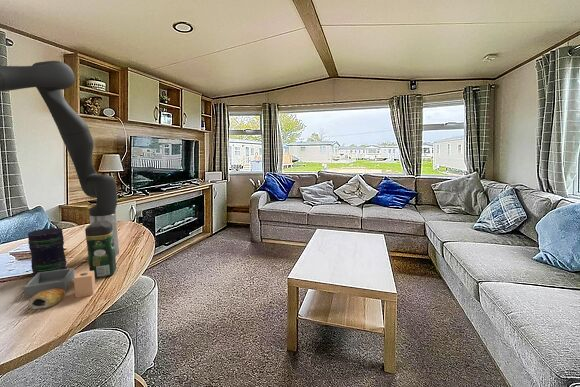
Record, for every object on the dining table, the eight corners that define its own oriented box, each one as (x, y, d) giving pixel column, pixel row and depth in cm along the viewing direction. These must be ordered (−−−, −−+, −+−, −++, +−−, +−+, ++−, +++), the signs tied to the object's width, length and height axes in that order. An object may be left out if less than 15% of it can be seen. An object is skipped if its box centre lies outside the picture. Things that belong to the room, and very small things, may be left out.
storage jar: (31, 272, 113) (25, 231, 111) (64, 264, 120) (59, 226, 118) (34, 280, 106) (29, 237, 104) (69, 272, 113) (65, 231, 111)
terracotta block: (79, 291, 98) (77, 272, 97) (95, 288, 100) (94, 270, 99) (75, 297, 94) (73, 278, 93) (93, 294, 96) (91, 275, 95)
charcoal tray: (38, 281, 105) (37, 272, 104) (74, 276, 109) (73, 268, 108) (25, 297, 94) (24, 287, 93) (65, 291, 98) (64, 281, 97)
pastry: (48, 294, 96) (47, 282, 95) (72, 294, 97) (70, 282, 96) (25, 310, 87) (24, 297, 86) (52, 309, 87) (50, 296, 87)
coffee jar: (93, 270, 115) (88, 220, 112) (118, 267, 117) (114, 218, 115) (87, 280, 106) (81, 226, 103) (113, 277, 108) (109, 224, 106)
